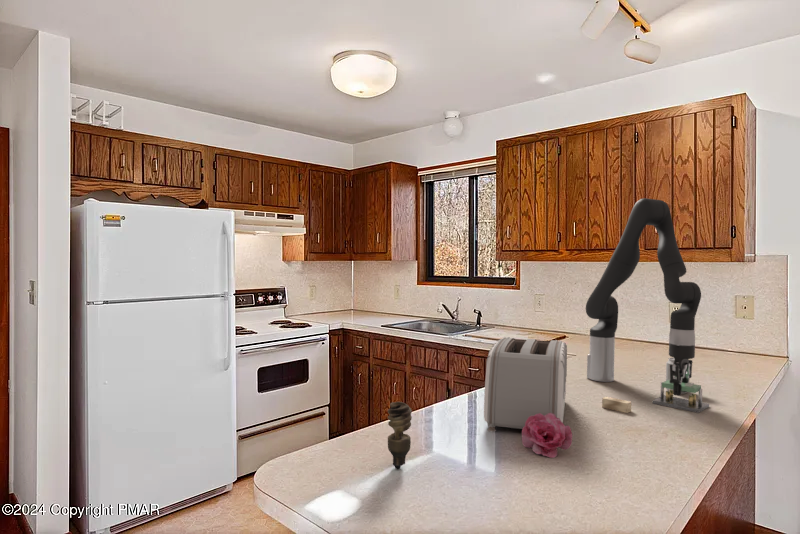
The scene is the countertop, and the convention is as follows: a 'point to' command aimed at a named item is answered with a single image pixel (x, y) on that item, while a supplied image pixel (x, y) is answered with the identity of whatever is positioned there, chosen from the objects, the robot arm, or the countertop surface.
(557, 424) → the flower
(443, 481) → the countertop surface
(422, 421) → the countertop surface
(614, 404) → the beige wooden block
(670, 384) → the board
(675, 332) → the robot arm
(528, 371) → the toaster
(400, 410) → the light bulb
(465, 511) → the countertop surface
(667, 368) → the can
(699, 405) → the chassis
